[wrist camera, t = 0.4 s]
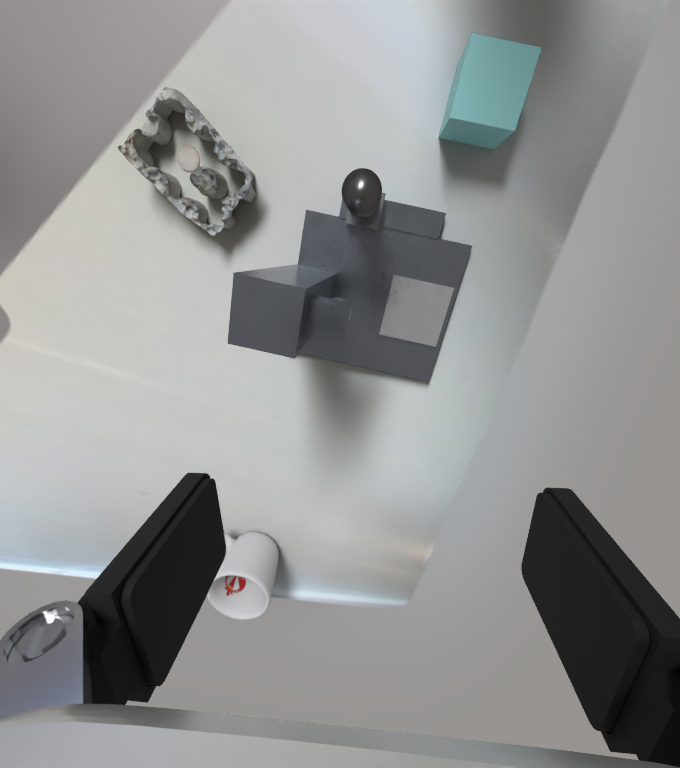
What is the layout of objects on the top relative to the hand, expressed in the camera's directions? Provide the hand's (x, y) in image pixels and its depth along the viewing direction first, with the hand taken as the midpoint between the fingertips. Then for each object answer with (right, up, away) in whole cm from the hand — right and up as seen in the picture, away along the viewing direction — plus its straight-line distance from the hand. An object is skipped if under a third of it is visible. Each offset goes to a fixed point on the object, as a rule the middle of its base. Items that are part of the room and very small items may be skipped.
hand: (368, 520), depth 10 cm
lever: (+2, +20, +22) cm, 30 cm away
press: (+3, +14, +26) cm, 29 cm away
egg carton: (-14, +25, +24) cm, 37 cm away
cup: (-13, -18, +39) cm, 45 cm away
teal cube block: (+11, +28, +20) cm, 36 cm away
